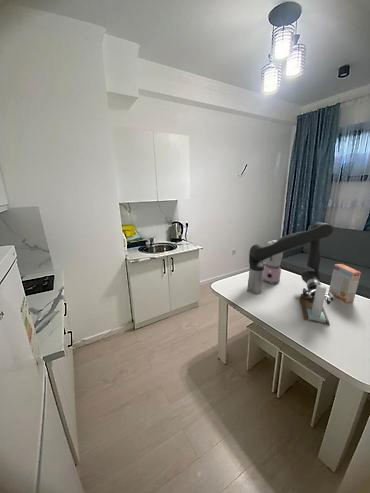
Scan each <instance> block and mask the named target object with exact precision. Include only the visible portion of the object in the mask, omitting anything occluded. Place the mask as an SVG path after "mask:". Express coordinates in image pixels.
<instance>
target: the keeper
mask: <svg viewBox="0 0 370 493" xmlns="http://www.w3.org/2000/svg"><path fill="white" fill-rule="evenodd" d="M327 289H328V288H327V286H326V285H322V284H321V285H317V287H316V292H315V297H314V302H313V307H312V310H311V309H307V310H306V311H307V316H308V319H310V320H315V321H320V322H325V323H326V319H325V316H324V313H323V312H322V308H323V307H324V303H325V299H324V298H325V294H326V293H327Z"/></svg>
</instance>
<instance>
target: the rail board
mask: <svg viewBox="0 0 370 493" xmlns="http://www.w3.org/2000/svg"><path fill="white" fill-rule="evenodd" d="M299 302H300V306H301V307H300V308H301V313H302V317H303V321H308V322H313V323H315V324H317V323H318V324H320V325H322V324H323V325H327V326H330V324H331V322H330V320H329V318H328V315H327V313H326V310H325V307H324V306H323V308H322V312H323V313H324V316H325V319H326V323H325V322H320V321H315V320H310V319H308V316H307V311H306V310H307V309H311V310H312V307H313V302H314V296H313V297H312V300H311V301H309V300H308V298H307V297H304V296H303V293H300V296H299Z"/></svg>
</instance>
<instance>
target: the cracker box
mask: <svg viewBox="0 0 370 493" xmlns="http://www.w3.org/2000/svg"><path fill="white" fill-rule="evenodd" d="M361 275H362V272H361V271H360V270H357V269H355V268H352V267H350V266H348V265H345V264H343V263H335V264H334V266H333V270H332V275H331V279H330V284H329V287H328V292H331V294H332V295H333V297H335V298H337V299H338V300H340V301H342V302H343V303H345V304H348V303H351V304H352V303H354V301H355V298H356V293H357V290H358V286H359V282H360V278H361Z"/></svg>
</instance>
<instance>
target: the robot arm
mask: <svg viewBox="0 0 370 493" xmlns="http://www.w3.org/2000/svg"><path fill="white" fill-rule="evenodd" d="M333 232H334V226H333V225H331V224H330V223H327V222H326V223H325V222H315V223H314V224H313V225H312V226H311V229H309V230H304V231H298V232H297V231H296V232H294V233H290V234H287V235H285V236H281V237H280V238H279V239H277V240H278V241H277V242H275V243H274V244H272V245H270V246H267V245H266V246H262V245H261V244H253V245H252V246H251V247H250V249H249V252H248V254H249V256H248V257H249V259H248V264H249V268H248V270H249V271H248V279H247V288H246V289H247V290H246V292H248V293H250V294H253V295H260V294H262V291H263V290H262V289H263V282H264V281H263V272H264V266H265V264H264V261H266V259H267V258H269V257H271V256H273V255H276V254H278V253H281V252H283V253H284V252H287V251H289V250H290V251H291V250H292V249H295V248H298V247H301V246H303V245H306V244H309V252H308V258H307V261H306V267H308V268H310V269H313V270H307V269H304V270H303V271H301V274H300V277H301V280H302V281H303V282H304V283H306V288H307V289H306V288H305V287H303V289H302V294H303V296H304V297H307V298H308V300H309V301H311V300H312V297H313V296H314V297H315V292H316V287H317V285H322V284H321V282H320V279H321V278H320V277H321V276H320V263H321V259H322V250H321V240H323V239H326V238H328V237H330V236H331V235H332V234H333ZM324 301H326V303H327V305H330V304H331V302H333V301H334V295H333V294H331V292H329V291H328V292H326V294H325V298H324Z"/></svg>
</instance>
